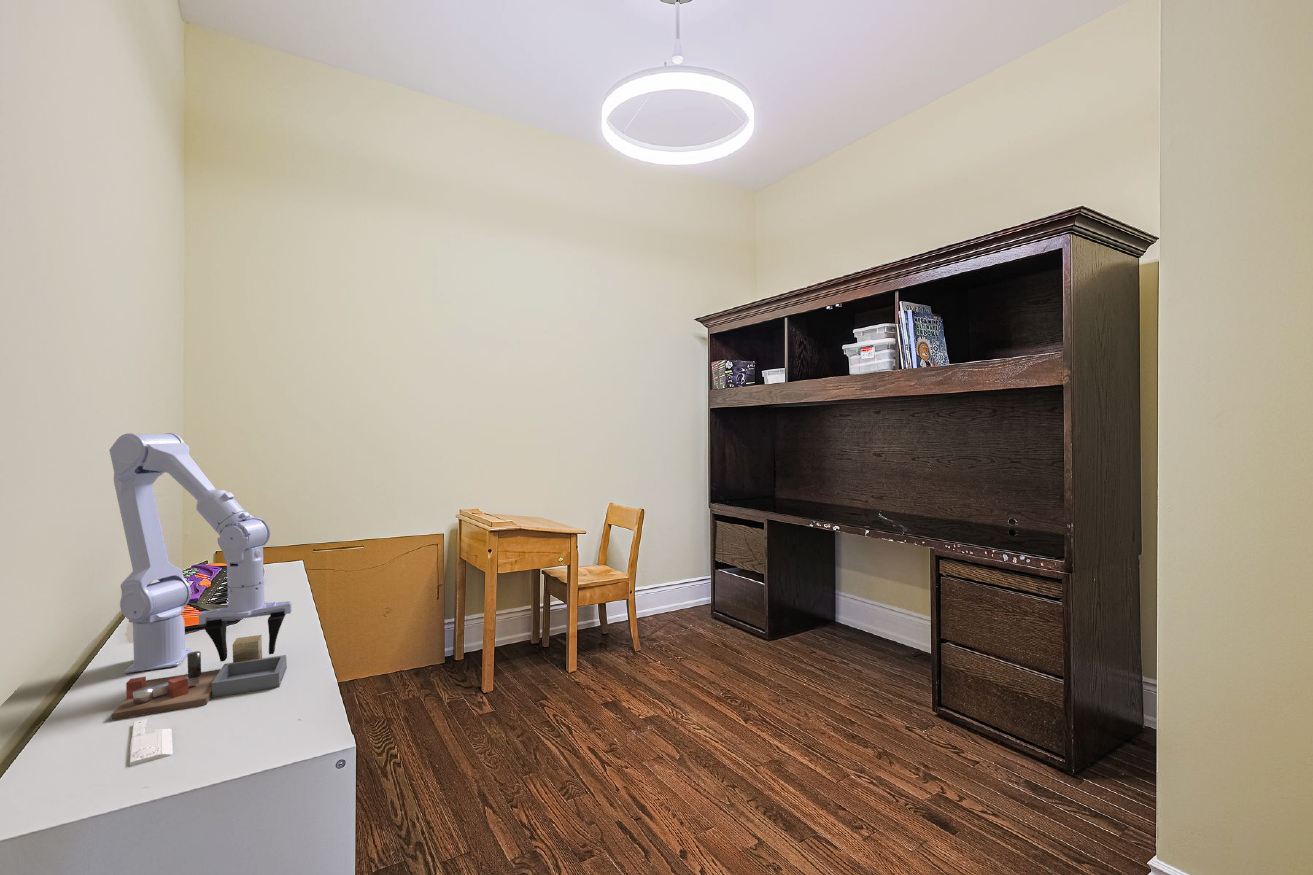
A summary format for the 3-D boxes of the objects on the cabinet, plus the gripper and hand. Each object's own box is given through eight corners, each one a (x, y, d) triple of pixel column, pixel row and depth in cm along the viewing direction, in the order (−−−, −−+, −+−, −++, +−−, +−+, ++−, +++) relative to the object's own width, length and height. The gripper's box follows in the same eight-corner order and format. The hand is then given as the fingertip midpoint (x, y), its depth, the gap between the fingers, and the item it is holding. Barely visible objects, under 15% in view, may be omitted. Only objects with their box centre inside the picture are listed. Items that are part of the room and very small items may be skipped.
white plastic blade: (175, 717, 96) (175, 710, 96) (177, 756, 84) (177, 748, 84) (133, 727, 93) (133, 719, 93) (128, 769, 81) (128, 761, 81)
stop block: (237, 664, 117) (236, 638, 117) (262, 660, 119) (261, 634, 119) (233, 671, 114) (232, 644, 114) (258, 667, 116) (258, 641, 115)
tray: (224, 676, 111) (224, 663, 111) (286, 667, 115) (286, 654, 115) (212, 697, 102) (211, 683, 102) (279, 686, 106) (279, 672, 106)
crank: (197, 680, 107) (196, 650, 106) (204, 683, 105) (203, 652, 105) (130, 700, 99) (129, 667, 99) (136, 704, 97) (135, 671, 97)
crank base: (142, 686, 108) (142, 666, 108) (225, 673, 113) (225, 654, 112) (111, 720, 95) (111, 697, 95) (206, 704, 100) (205, 682, 100)
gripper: (193, 594, 110) (195, 670, 110) (287, 583, 116) (289, 656, 116) (203, 585, 116) (205, 657, 116) (292, 576, 122) (294, 644, 122)
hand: (248, 656), depth 116 cm, fingers open, 7 cm apart
